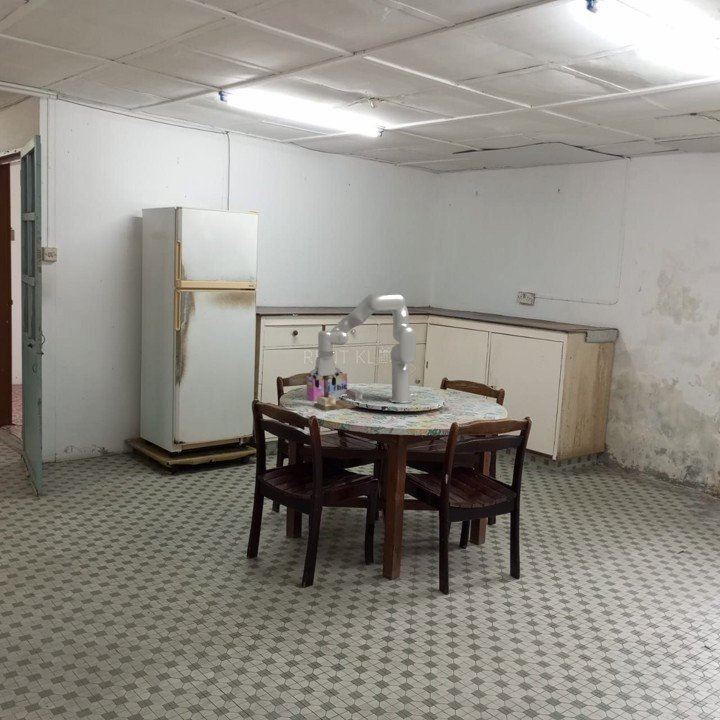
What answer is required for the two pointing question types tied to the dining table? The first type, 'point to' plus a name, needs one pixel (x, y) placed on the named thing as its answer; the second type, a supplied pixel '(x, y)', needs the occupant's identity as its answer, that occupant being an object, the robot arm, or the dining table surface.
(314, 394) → the gum box
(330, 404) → the press jaw
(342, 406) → the press bench
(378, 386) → the dining table surface
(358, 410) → the dining table surface
